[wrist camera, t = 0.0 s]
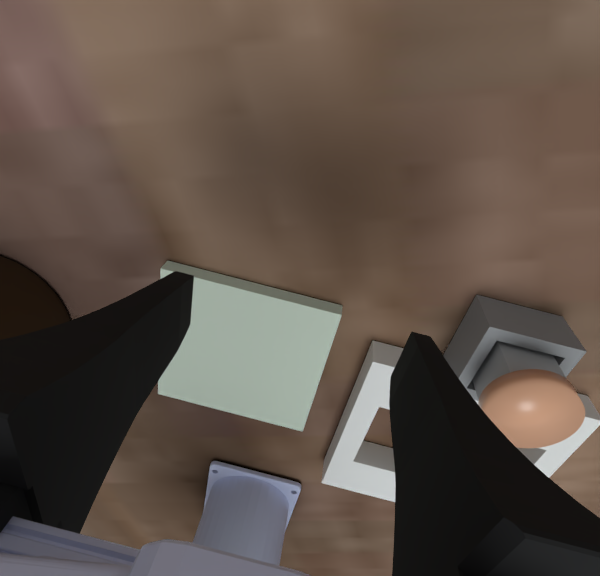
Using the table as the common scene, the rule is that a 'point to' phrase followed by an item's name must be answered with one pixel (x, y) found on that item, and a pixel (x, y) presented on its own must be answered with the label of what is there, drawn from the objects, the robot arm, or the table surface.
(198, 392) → the mat
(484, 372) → the plunger
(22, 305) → the olive oil
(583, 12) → the table surface
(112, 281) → the table surface
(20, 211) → the table surface
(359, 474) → the housing
